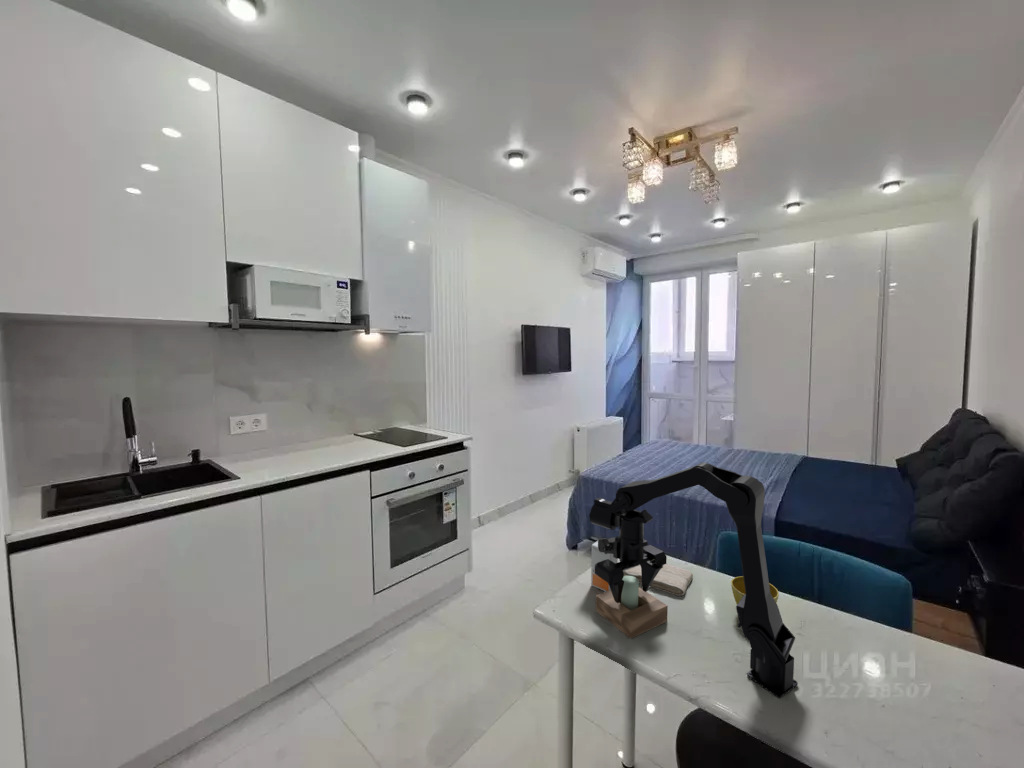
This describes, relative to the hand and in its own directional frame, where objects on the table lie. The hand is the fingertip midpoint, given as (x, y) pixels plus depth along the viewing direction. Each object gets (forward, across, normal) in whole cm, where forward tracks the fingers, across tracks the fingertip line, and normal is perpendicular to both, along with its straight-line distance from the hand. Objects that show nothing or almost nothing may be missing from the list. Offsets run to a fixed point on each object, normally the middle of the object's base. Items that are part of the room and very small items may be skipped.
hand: (631, 596), depth 104 cm
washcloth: (+6, -19, -9) cm, 22 cm away
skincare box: (+5, -3, -13) cm, 14 cm away
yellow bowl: (+5, -26, +15) cm, 30 cm away
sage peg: (+4, 0, 0) cm, 4 cm away
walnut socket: (+5, 0, 0) cm, 5 cm away
